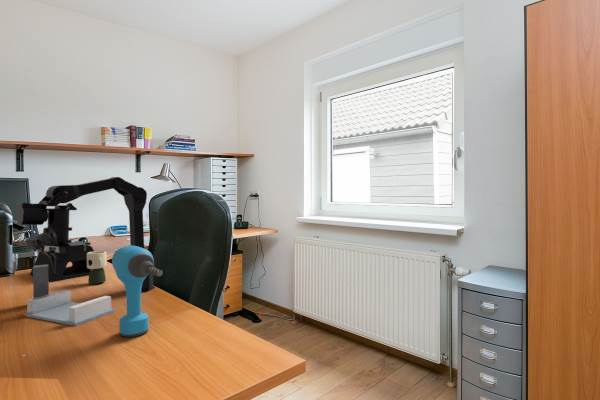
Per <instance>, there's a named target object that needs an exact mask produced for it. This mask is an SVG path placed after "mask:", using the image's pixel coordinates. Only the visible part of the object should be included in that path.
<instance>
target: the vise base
mask: <svg viewBox="0 0 600 400" xmlns="http://www.w3.org/2000/svg"><path fill="white" fill-rule="evenodd" d="M115 312H116V309H115V308H112V296H109V295H104V296H99V297H97V298H94V299H90V300H87V301H84V302H73V301H71V302H70V303H67V304H63V305H60V306H57V307H53V308H50V309H47V310H44V311H40V312H37V313H34V314H31V313H27V312H25V317H28V318H33V319H37V320H38V319H39V320H42V321H47V322H54V323H58V324H63V325H68V326H74V327H78V326H80V325H82V324H85V323H88V322H91V321H93V320H95V319H98V318H101V317H103V316H106V315H108V314H113V313H115Z"/></svg>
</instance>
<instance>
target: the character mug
mask: <svg viewBox="0 0 600 400" xmlns="http://www.w3.org/2000/svg"><path fill="white" fill-rule="evenodd" d="M107 263H108V262H107V251H105V250H97V251H96V250H94V252H88V253H87V268H88V269H91V270H90V273H89V276H88V282H87V283H88V284H90V285H95V284H97V285H99V284H100V283H104V282H107V278H106V273H105V272H104V271H105V269H104V268H106V267H107V265H108V264H107Z"/></svg>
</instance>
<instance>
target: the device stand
mask: <svg viewBox="0 0 600 400" xmlns="http://www.w3.org/2000/svg"><path fill="white" fill-rule="evenodd" d="M83 244H84V245H85V251H83V252H75V253H71V254H70V256H69V257H68V259H67V260H66V262H65V264H64V266H63V267H62V269H61V271H60V272H59V273H54V270H53V267H52V264H51V261H50V259H49V257H48V256H47V255H46V254H44V253H42V251H44V248H41V249H40V251H39V253H38V255H37V258H36V260H35V262H34V264H33V266H32V268H31V270H30V272H29V275H30V276H31V275H32V277H33V267H34V266H36V265H47V264H48V266H49V283H50V282H51V283H55V282H60V281H61V282H62V281H65V280H72V279H76V278H82V277H87V276H88V277H89V273H90V270H91V269H88V268H87V253H88V252H94V251H95V250H94V248H93V246H91V245H87V244H85V243H83ZM69 263H71V266H68V264H69ZM104 272H105V270H104Z"/></svg>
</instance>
